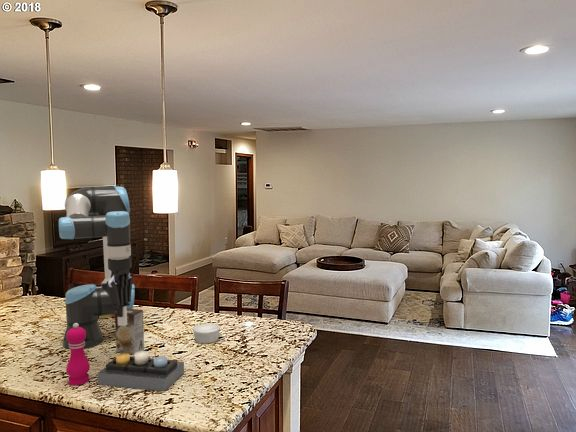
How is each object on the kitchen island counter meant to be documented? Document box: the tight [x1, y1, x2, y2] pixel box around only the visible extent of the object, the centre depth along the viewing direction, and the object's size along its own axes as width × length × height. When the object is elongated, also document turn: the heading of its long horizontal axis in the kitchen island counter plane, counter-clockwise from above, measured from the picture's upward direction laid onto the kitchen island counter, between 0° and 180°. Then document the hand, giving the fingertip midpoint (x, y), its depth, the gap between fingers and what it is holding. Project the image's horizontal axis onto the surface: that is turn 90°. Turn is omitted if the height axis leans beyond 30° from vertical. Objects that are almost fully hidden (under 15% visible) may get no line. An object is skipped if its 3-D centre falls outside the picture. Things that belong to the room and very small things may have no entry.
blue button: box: [154, 355, 168, 368], centre depth 155 cm, size 4×4×7 cm
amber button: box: [115, 353, 131, 365], centre depth 158 cm, size 4×4×7 cm
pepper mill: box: [65, 323, 91, 386], centre depth 155 cm, size 7×7×20 cm
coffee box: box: [114, 308, 145, 355], centre depth 182 cm, size 9×6×16 cm
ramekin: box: [192, 322, 221, 344], centre depth 193 cm, size 11×11×5 cm
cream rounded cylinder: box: [133, 350, 149, 366], centre depth 156 cm, size 4×4×7 cm
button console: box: [97, 356, 185, 392], centre depth 157 cm, size 24×14×6 cm, turn 77°
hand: (122, 324), depth 159 cm, fingers closed
